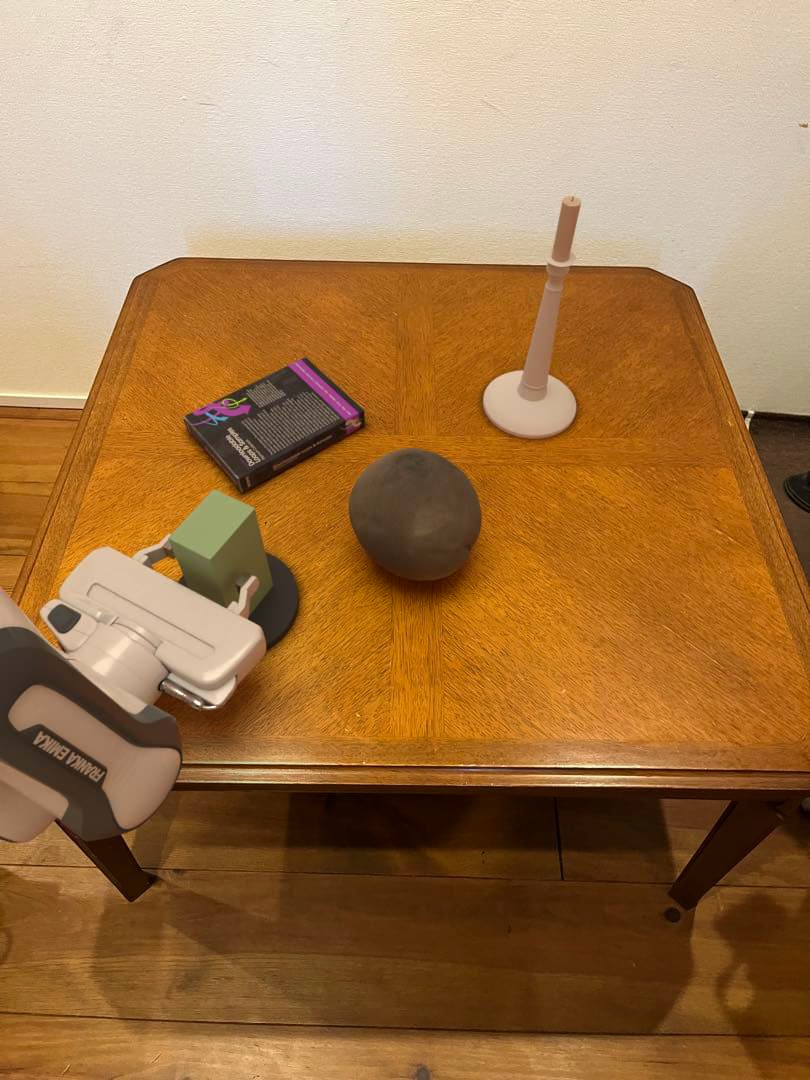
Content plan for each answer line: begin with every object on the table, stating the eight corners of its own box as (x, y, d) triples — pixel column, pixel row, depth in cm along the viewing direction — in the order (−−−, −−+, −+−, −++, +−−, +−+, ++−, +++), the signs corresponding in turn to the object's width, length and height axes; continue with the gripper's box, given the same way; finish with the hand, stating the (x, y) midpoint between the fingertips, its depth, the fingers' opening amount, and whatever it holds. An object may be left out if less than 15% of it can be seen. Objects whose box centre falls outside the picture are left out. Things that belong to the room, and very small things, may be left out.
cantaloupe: (447, 497, 92) (455, 409, 80) (493, 587, 84) (510, 506, 72) (339, 526, 89) (331, 440, 77) (376, 623, 81) (373, 544, 69)
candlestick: (470, 382, 105) (495, 173, 80) (554, 367, 107) (603, 159, 82) (501, 446, 97) (538, 238, 73) (590, 429, 99) (655, 221, 75)
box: (308, 374, 106) (186, 432, 98) (306, 354, 103) (180, 412, 95) (366, 429, 99) (240, 495, 92) (366, 409, 96) (235, 476, 89)
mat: (232, 686, 77) (230, 681, 76) (146, 610, 82) (143, 605, 81) (325, 598, 83) (324, 592, 82) (239, 533, 88) (238, 527, 87)
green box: (198, 613, 80) (167, 537, 69) (237, 567, 84) (213, 488, 73) (235, 633, 79) (210, 559, 68) (273, 585, 83) (255, 508, 71)
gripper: (205, 705, 62) (297, 584, 69) (25, 602, 67) (128, 500, 74) (219, 734, 67) (303, 618, 74) (51, 635, 72) (145, 537, 80)
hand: (214, 558), depth 74 cm, fingers open, 8 cm apart
